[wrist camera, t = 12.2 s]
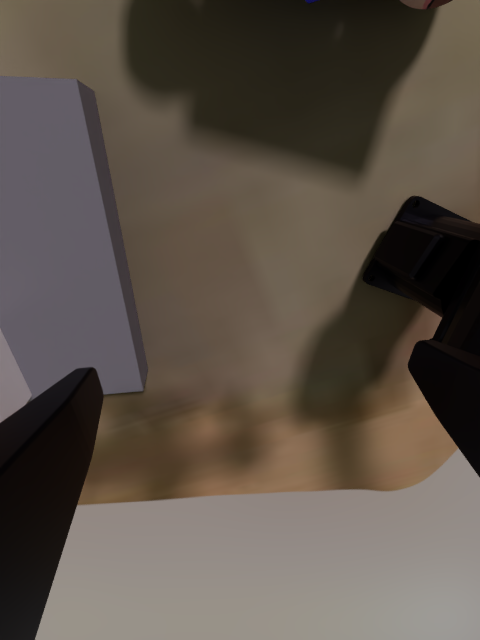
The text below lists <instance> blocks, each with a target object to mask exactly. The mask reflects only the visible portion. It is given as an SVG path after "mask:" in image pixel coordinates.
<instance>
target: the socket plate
mask: <svg viewBox="0 0 480 640" xmlns="http://www.w3.org/2000/svg"><path fill="white" fill-rule="evenodd" d="M0 329H1V331H2V333H3V335H4V337H5V340H6V342H7V344H8V346H9V348H10V350H11V352H12V354H13V356H14V358H15V360H16V363H17V365H18V367H19V369H20V371H21V373H22V375H23V377H24V379H25V381H26V383H27V386H28V388H29V390H30V392H31V394H32V396H31V397H30V399H29V400H28V401H31V400H33V399H34V398H36V397H37V396H38V395H40V394H41V393H43V392H44V391H45V390H47V389H48V388H50V387H51V386H52V385H54V384H55V383H57V382H58V381H59V380H61V379H62V378H64V377H65V376H66V375H68V374H69V373H71V372H72V371H73V370H75V369H77V368H85V367H93V368H95V369H96V371H97V373H98V376H99V380H100V383H101V386H102V389H103V394H114V393H126V392H137V391H143V390H144V385H145V381H146V376H147V372H148V367H147V362H146V357H145V351H144V346H143V341H142V336H141V331H140V326H139V320H138V315H137V310H136V305H135V300H134V295H133V289H132V284H131V279H130V274H129V269H128V264H127V258H126V253H125V248H124V243H123V238H122V233H121V227H120V222H119V217H118V212H117V207H116V202H115V196H114V191H113V186H112V181H111V176H110V171H109V165H108V160H107V155H106V150H105V145H104V140H103V134H102V129H101V124H100V119H99V114H98V109H97V103H96V98H95V93H94V91H93V90H92V89H90V88H89V87H87V86H86V85H84V84H83V83H81V82H80V81H78V80H77V79H57V78H34V77H10V76H0Z"/></svg>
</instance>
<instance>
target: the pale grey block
mask: <svg viewBox="0 0 480 640" xmlns="http://www.w3.org/2000/svg"><path fill="white" fill-rule="evenodd" d="M31 396H32V394H31V392H30V390H29V388H28V386H27V383H26V381H25V379H24V377H23V375H22V373H21V371H20V369H19V367H18V365H17V363H16V360H15V358H14V356H13V354H12V352H11V350H10V348H9V346H8V344H7V342H6V340H5V337H4V335H3V333H2V331H1V329H0V423H1V422H2V421H3V420H5V419H6V418H8V417H9V416H10V415H12V414H13V413H15V412H16V411H17V410H19V409H20V408H22V407H23V406H24V405H26V403H27V402H28V400H29V399H30V397H31Z"/></svg>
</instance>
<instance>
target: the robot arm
mask: <svg viewBox="0 0 480 640" xmlns="http://www.w3.org/2000/svg"><path fill="white" fill-rule="evenodd" d="M415 201H416V204H415V206H414V207H413V206H412V205H413V203H414V202H415ZM371 275H372V277H371V279H369V277H370V276H371ZM368 279H369V280H368ZM363 281H364V282H366V283H367V284H369V285H372V286H375V287H378V288H380V289H383V290H386V291H389V292H392V293H395V294H398V295H401V296H404V297H406V298H409V299H412V300H415V301H417V302H418V303H420V304H422V305H423V306H425V307H426V308H428V309H429V310H431V311H433V312H434V313H436V314H437V315H439V316H440V317H442V320H441V322H440V324H439V326H438V328H437V330H436V332H435V334H434V336H433V338H432V339H430V340H421V341H418V342H417V343H416V344H415V346H414V349H413V351H412V354H411V356H410V359H409V362H408V369H409V371H410V373H411V375H412V377H413V378H414V380H415V382H416V383H417V385H418V387H419V389H420V390H421V392H422V394H423V395H424V397H425V399H426V400H427V402H428V404H429V406H430V407H431V409H432V411H433V412H434V414H435V415H436V417H437V418H438V420H439V421H440V423H441V424H442V426H443V427H444V428H445V430H446V431H447V432H448V434H449V435H450V437H451V438H452V439H453V441H454V442H455V444H456V445H457V446H458V448H459V449H460V451H461V452H462V453H463V455H464V456H465V458H466V459H467V460H468V462H469V463H470V465H471V466H472V467H473V469H474V470H475V471H476V473H477V474H478V476H479V477H480V224H478V223H474V222H471V221H469V220H467V219H465V218H463V217H461V216H459V215H457V214H455V213H453V212H451V211H449V210H447V209H445V208H443V207H441V206H439V205H437V204H435V203H432V202H430V201H428V200H426V199H424V198H422V197H419V196H411V197H410V198H409V199H408V200H407V201H406V203H405V205H404V206H403V208H402V210H401V211H400V213H399V215H398V217H397V218H396V220H395V222H394V223H393V224H392V226H391V228H390V230H389V231H388V233H387V235H386V236H385V238H384V240H383V242H382V243H381V245H380V247H379V248H378V250H377V252H376V254H375V256H374V258H373V259H372V261H371V263H370V264H369V266H368V268H367V270H366V271H365V273H364V275H363ZM102 404H103V389H102V386H101V383H100V380H99V376H98V373H97V371H96V369H95V368H93V367H85V368H77V369H75V370H73V371H72V372H71V373H69V374H68V375H66V376H65V377H64V378H62V379H61V380H59V381H58V382H57V383H55V384H54V385H52V386H51V387H50V388H48V389H47V390H45V391H44V392H43V393H41V394H40V395H38V396H37V397H36V398H34V399H33V400H31V401H30V402H29V403H27V404H26V405H24V406H23V407H22V408H20V409H19V410H17V411H16V412H15V413H13V414H12V415H10V416H9V417H8V418H6V419H5V420H3V421H2V422H1V423H0V640H35V637H36V634H37V631H38V628H39V624H40V621H41V618H42V615H43V612H44V608H45V605H46V602H47V599H48V596H49V593H50V589H51V586H52V583H53V580H54V576H55V573H56V570H57V567H58V564H59V561H60V558H61V554H62V551H63V548H64V545H65V542H66V539H67V535H68V532H69V529H70V525H71V523H72V519H73V516H74V513H75V509H76V507H77V504H78V500H79V497H80V494H81V491H82V488H83V484H84V481H85V478H86V475H87V472H88V469H89V465H90V462H91V458H92V454H93V450H94V445H95V440H96V435H97V430H98V424H99V419H100V414H101V409H102Z"/></svg>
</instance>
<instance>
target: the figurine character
mask: <svg viewBox="0 0 480 640" xmlns="http://www.w3.org/2000/svg"><path fill="white" fill-rule="evenodd" d="M305 1H306V2H307V3H308V4H309V3H312V2H315V1H318V0H305ZM400 1H401V2H402V3H403V4H405V5H407V6H409V7H411V8H415V9H431V8H435V7H439V6H441V5H444V4H446V3H448V2H450V1H452V0H400Z"/></svg>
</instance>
